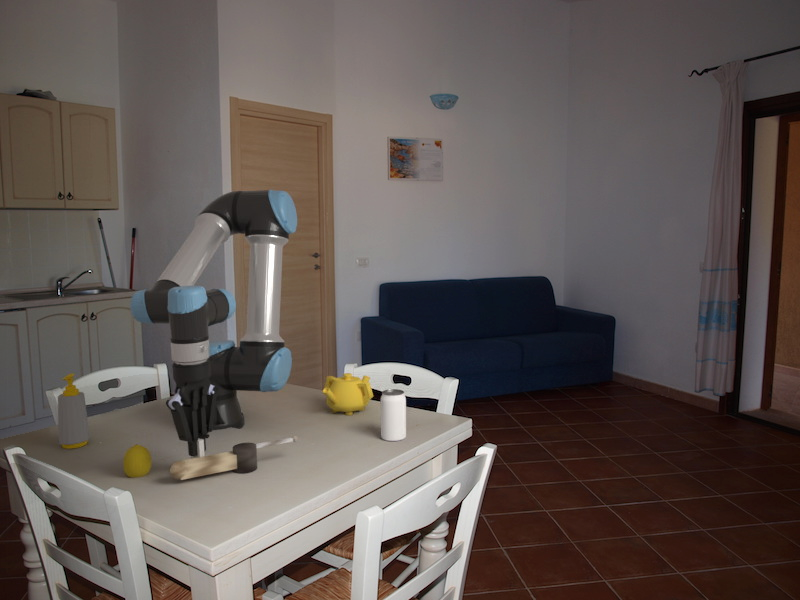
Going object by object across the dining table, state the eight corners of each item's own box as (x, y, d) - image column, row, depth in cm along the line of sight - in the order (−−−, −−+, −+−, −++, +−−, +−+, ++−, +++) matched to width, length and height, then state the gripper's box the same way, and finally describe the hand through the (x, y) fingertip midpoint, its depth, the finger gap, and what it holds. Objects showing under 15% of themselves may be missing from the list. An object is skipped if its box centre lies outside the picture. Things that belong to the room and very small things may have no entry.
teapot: (347, 398, 188) (346, 363, 187) (392, 407, 177) (392, 371, 176) (302, 414, 172) (301, 376, 171) (349, 425, 161) (348, 385, 160)
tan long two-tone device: (172, 488, 118) (171, 463, 118) (168, 479, 123) (167, 455, 122) (301, 461, 132) (301, 438, 131) (294, 454, 136) (293, 432, 135)
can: (403, 442, 147) (403, 396, 146) (378, 441, 148) (377, 394, 147) (408, 434, 153) (408, 389, 152) (384, 432, 155) (383, 388, 153)
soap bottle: (54, 450, 144) (48, 379, 142) (65, 441, 151) (60, 372, 149) (84, 448, 145) (79, 377, 143) (94, 439, 152) (89, 371, 150)
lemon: (130, 475, 129) (127, 440, 128) (156, 474, 129) (154, 439, 128) (120, 486, 123) (117, 449, 122) (147, 485, 124) (145, 448, 123)
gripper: (180, 369, 115) (188, 483, 119) (226, 355, 127) (232, 460, 130) (153, 365, 119) (161, 477, 122) (200, 352, 130) (207, 454, 133)
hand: (198, 468), depth 126 cm, fingers closed
